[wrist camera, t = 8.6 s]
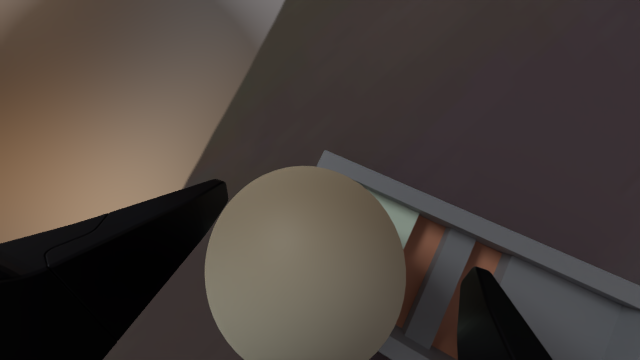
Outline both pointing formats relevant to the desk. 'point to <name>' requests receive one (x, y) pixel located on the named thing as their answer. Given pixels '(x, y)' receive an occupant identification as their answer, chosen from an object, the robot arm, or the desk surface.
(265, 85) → the desk surface
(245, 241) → the beige tall rounded piece
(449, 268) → the box
